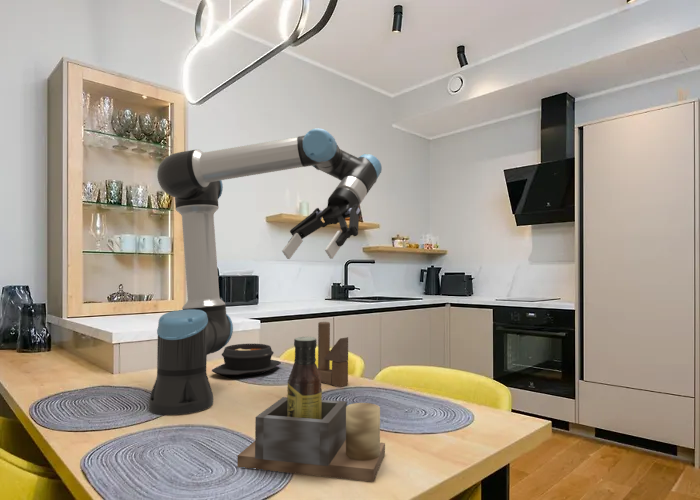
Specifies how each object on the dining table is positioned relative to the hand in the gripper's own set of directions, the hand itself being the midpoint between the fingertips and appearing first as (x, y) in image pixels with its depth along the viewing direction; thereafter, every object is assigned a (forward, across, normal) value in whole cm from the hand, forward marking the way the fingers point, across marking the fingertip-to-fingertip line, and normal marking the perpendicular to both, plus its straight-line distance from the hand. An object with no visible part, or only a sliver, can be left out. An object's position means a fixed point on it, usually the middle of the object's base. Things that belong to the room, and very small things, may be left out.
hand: (306, 254), depth 110 cm
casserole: (+10, +49, -44) cm, 66 cm away
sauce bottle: (+37, -16, -14) cm, 43 cm away
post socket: (+38, -17, -15) cm, 45 cm away
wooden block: (+6, +17, -48) cm, 51 cm away
